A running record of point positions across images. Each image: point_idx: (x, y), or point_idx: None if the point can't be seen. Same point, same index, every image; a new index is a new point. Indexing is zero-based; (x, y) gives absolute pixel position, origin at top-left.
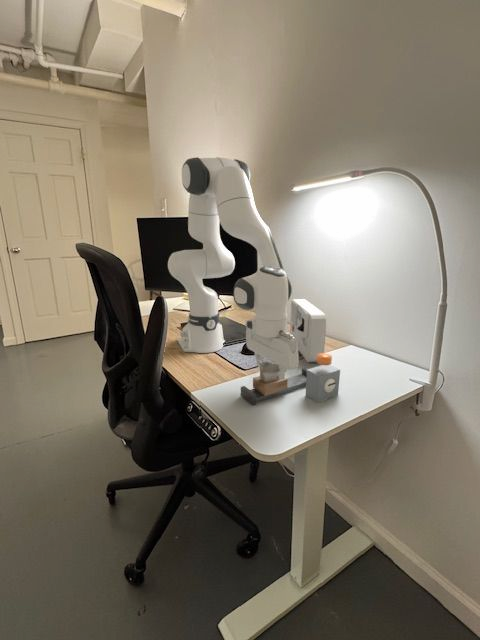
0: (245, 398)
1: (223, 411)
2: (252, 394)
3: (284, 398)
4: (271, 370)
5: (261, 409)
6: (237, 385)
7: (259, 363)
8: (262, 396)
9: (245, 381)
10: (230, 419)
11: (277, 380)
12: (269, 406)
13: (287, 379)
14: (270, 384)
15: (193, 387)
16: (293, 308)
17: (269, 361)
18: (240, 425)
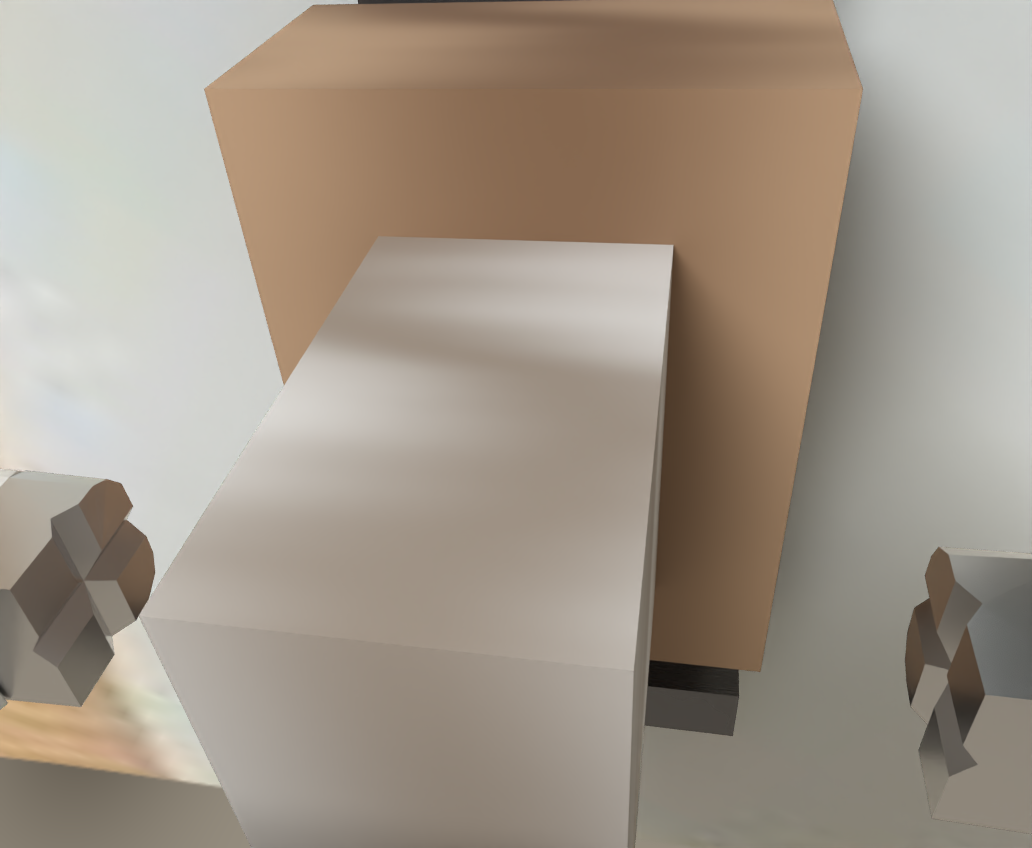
0: None
1: (640, 800)
2: (703, 720)
3: (920, 141)
4: (640, 734)
5: (889, 588)
6: (147, 462)
7: (84, 685)
8: None
9: (43, 317)
10: (804, 829)
11: (724, 371)
12: (915, 484)
13: (860, 85)
14: (774, 578)
15: (87, 745)
16: None
17: (320, 822)
18: (958, 834)
